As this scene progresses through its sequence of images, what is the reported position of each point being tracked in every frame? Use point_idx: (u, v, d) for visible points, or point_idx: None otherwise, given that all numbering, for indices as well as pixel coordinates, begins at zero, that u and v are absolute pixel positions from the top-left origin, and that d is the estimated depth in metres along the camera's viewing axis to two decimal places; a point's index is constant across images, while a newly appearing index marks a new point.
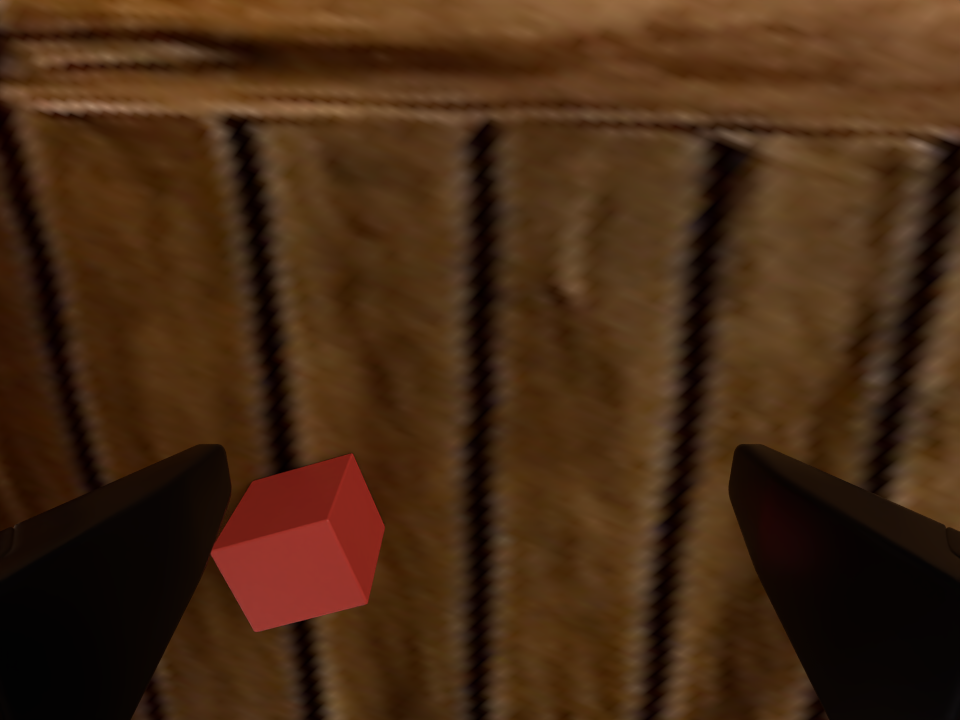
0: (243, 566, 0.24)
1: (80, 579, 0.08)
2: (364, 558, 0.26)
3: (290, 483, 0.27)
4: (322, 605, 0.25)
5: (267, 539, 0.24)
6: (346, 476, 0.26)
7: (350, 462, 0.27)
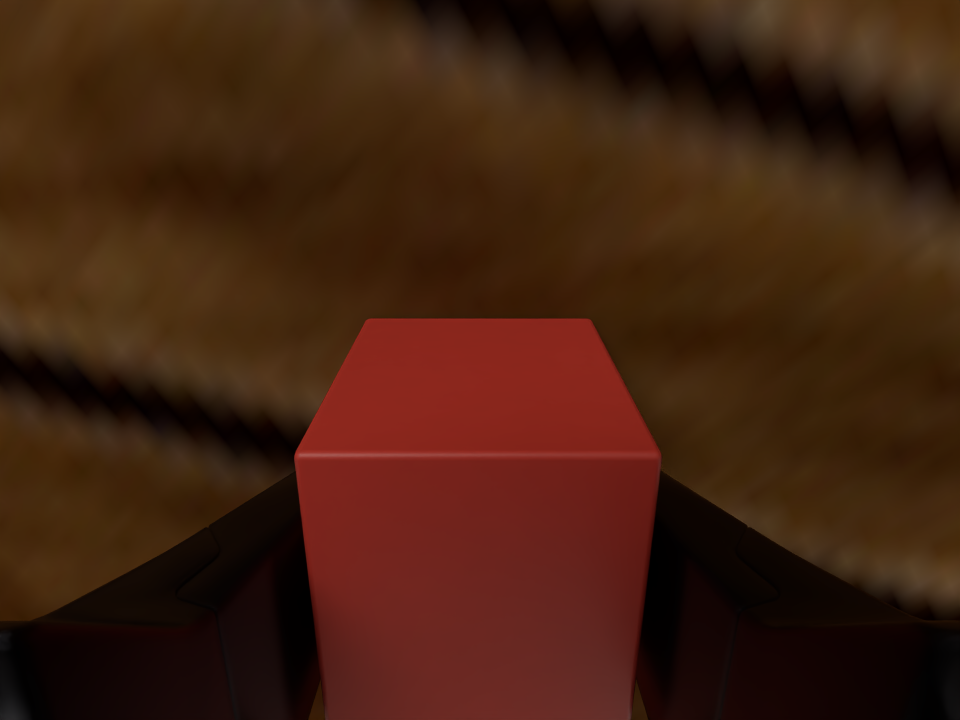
0: (399, 709, 0.08)
1: (282, 579, 0.08)
2: (553, 398, 0.08)
3: None
4: (607, 579, 0.08)
5: (325, 629, 0.08)
6: (356, 351, 0.10)
7: (365, 328, 0.11)
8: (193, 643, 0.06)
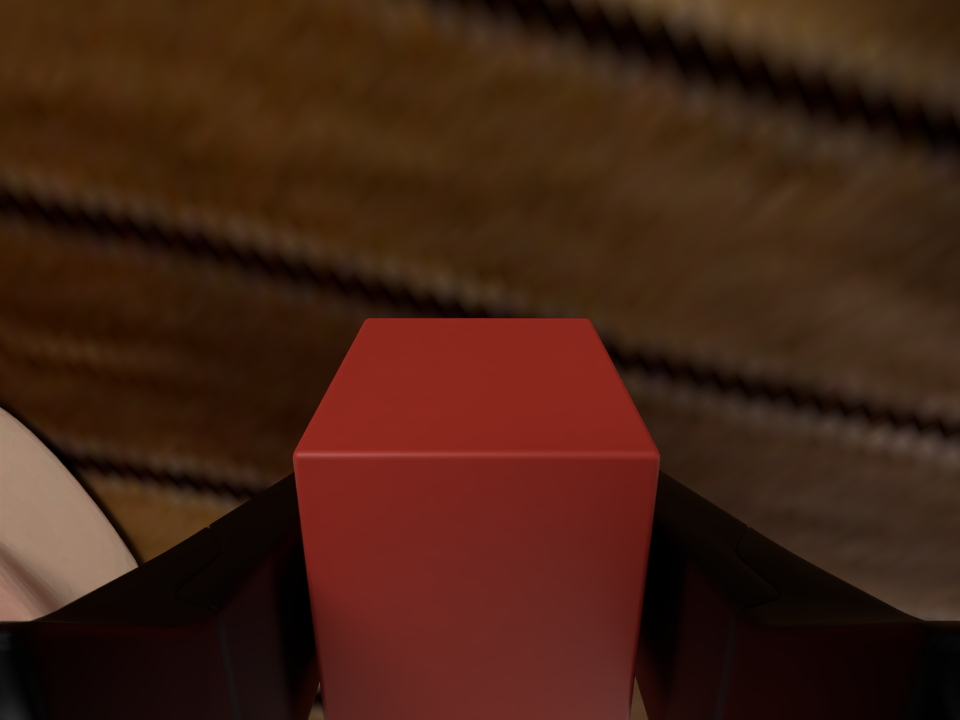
0: (397, 709, 0.08)
1: (282, 579, 0.08)
2: (551, 398, 0.08)
3: None
4: (606, 579, 0.08)
5: (323, 629, 0.08)
6: (354, 351, 0.10)
7: (364, 328, 0.11)
8: (193, 643, 0.06)
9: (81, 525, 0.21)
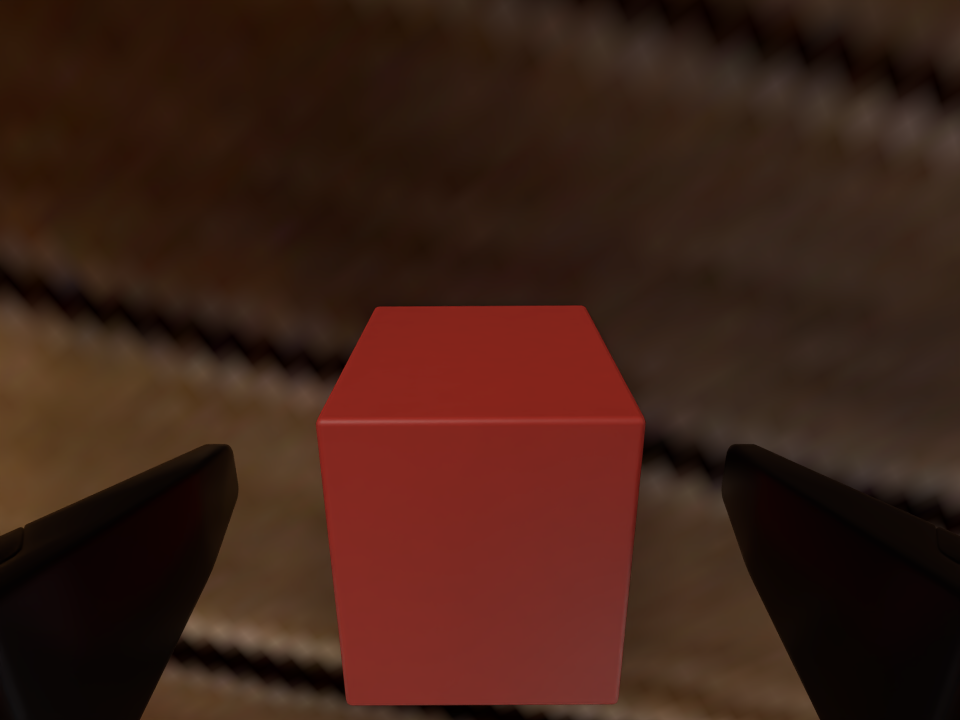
0: (410, 657, 0.09)
1: (90, 579, 0.08)
2: (548, 374, 0.09)
3: None
4: (598, 534, 0.08)
5: (343, 583, 0.09)
6: (367, 335, 0.11)
7: (375, 315, 0.12)
8: None
9: None
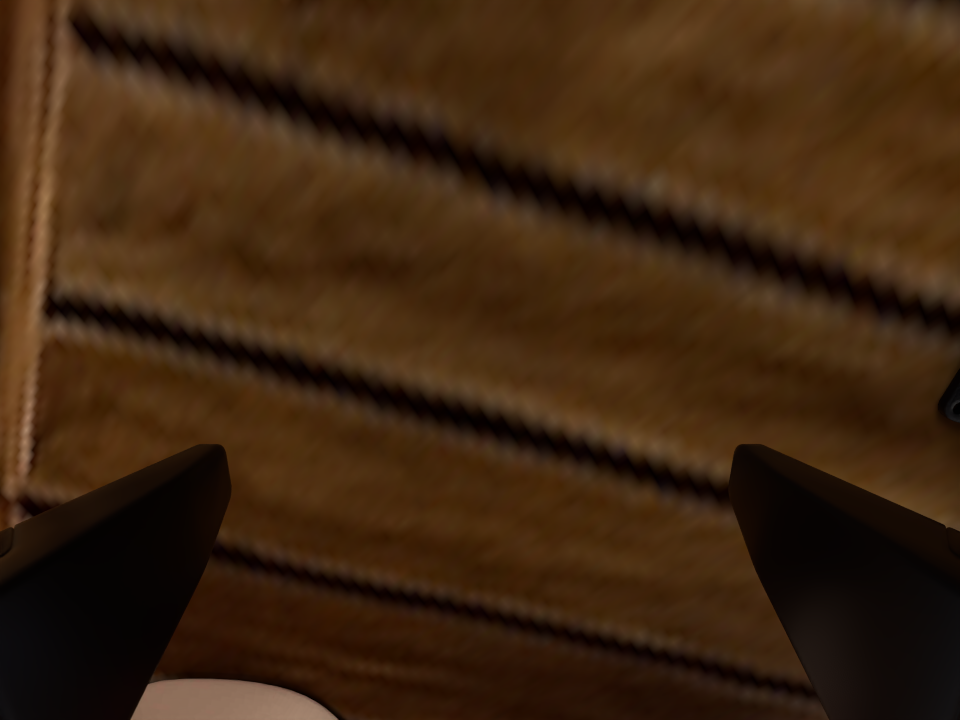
0: None
1: (80, 579, 0.08)
2: None
3: None
4: None
5: None
6: None
7: None
8: None
9: None
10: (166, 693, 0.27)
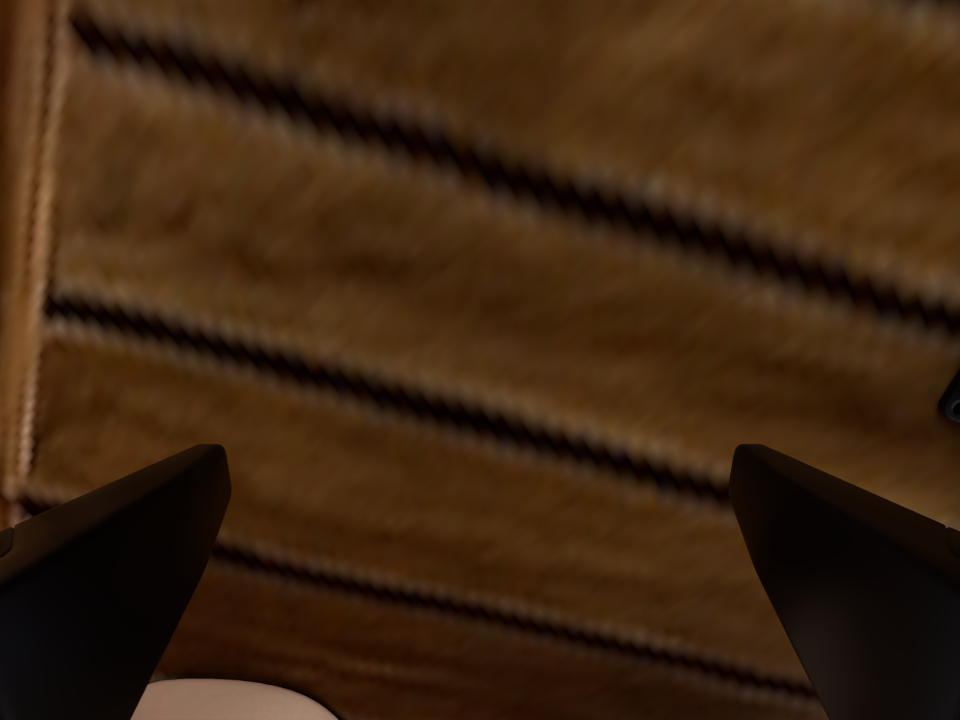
0: None
1: (80, 579, 0.08)
2: None
3: None
4: None
5: None
6: None
7: None
8: None
9: None
10: (166, 693, 0.27)
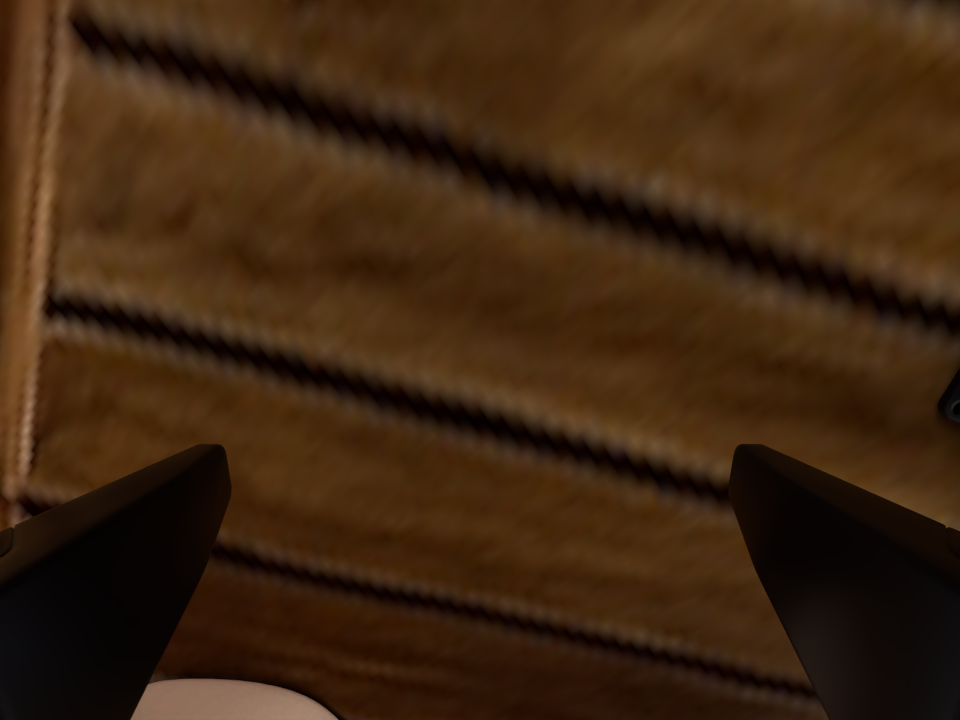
0: None
1: (80, 579, 0.08)
2: None
3: None
4: None
5: None
6: None
7: None
8: None
9: None
10: (166, 693, 0.27)
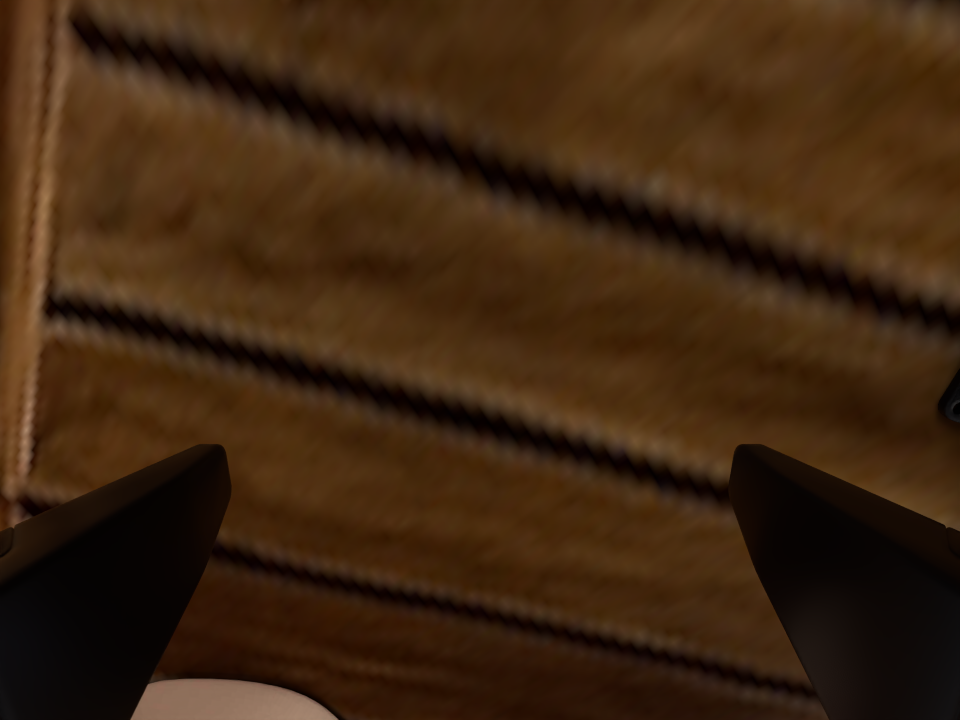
0: None
1: (80, 579, 0.08)
2: None
3: None
4: None
5: None
6: None
7: None
8: None
9: None
10: (166, 693, 0.27)
